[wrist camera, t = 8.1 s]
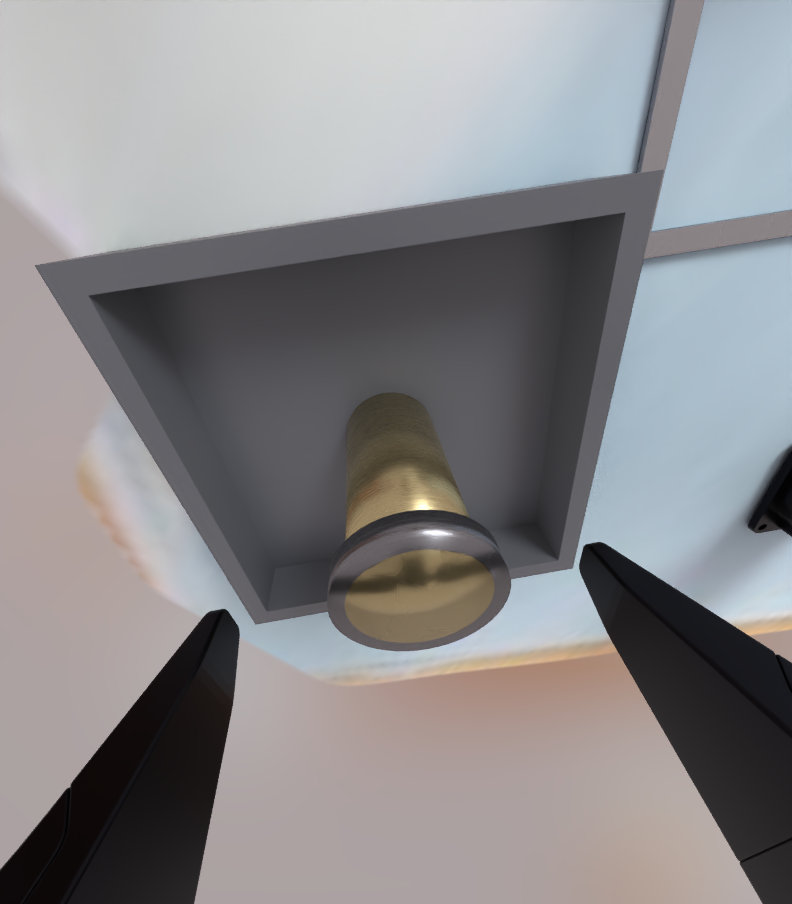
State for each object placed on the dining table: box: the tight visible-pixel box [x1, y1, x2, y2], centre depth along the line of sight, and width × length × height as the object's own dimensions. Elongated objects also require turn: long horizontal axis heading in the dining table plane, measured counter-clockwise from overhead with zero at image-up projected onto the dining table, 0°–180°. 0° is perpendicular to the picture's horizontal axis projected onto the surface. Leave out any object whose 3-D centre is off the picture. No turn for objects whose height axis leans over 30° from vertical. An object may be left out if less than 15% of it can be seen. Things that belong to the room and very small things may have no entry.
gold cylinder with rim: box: [327, 392, 511, 651], centre depth 12 cm, size 4×4×8 cm
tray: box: [35, 170, 664, 624], centre depth 15 cm, size 16×16×3 cm
